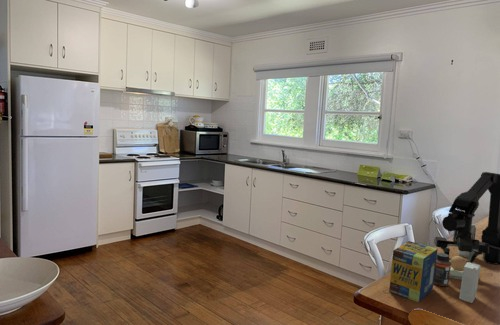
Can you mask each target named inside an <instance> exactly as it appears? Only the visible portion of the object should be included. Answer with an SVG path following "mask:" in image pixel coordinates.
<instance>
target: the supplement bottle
mask: <svg viewBox="0 0 500 325" xmlns="http://www.w3.org/2000/svg"><path fill="white" fill-rule="evenodd" d="M449 258H450V254H449V255H447V254H444V252H437V258H436V267H435V275H434V283H433V285H435V286H441V287H447V286H449V282H450V278H449V277H450V268H451V262H450V261H449Z"/></svg>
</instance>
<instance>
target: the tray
mask: <svg viewBox="0 0 500 325" xmlns="http://www.w3.org/2000/svg"><path fill="white" fill-rule="evenodd" d="M449 261H450V260H449ZM462 276H463V271H456V270H454V269H453V268H452V267H451V268H450V277H449V279H455V280H461V281H462ZM479 281H480V278H479V279H478V283H479Z"/></svg>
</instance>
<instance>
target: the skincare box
mask: <svg viewBox="0 0 500 325" xmlns="http://www.w3.org/2000/svg"><path fill="white" fill-rule="evenodd" d="M480 271H481V264H477V263H474V262H473V263H470V262H467V263H466V265H465V266H464V270H463V276H462V280H461V284H460V289H459V297H458V300H462V301H463V302H464V301H465V302H468V303H471V304H472V303H474V301H475V299H476V296H477V292H478V287H479V286H478V285H479V282H478V279H479V280H480Z"/></svg>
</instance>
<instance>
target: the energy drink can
mask: <svg viewBox="0 0 500 325" xmlns="http://www.w3.org/2000/svg"><path fill="white" fill-rule="evenodd" d="M476 231H477V228H476V224H475V223H473V222H472V226H471V238H472V239H475V240H476ZM457 253H458V256H461V257H463V258H469V253H470V252H467V251H460V250H459V249H458V248H457Z"/></svg>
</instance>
